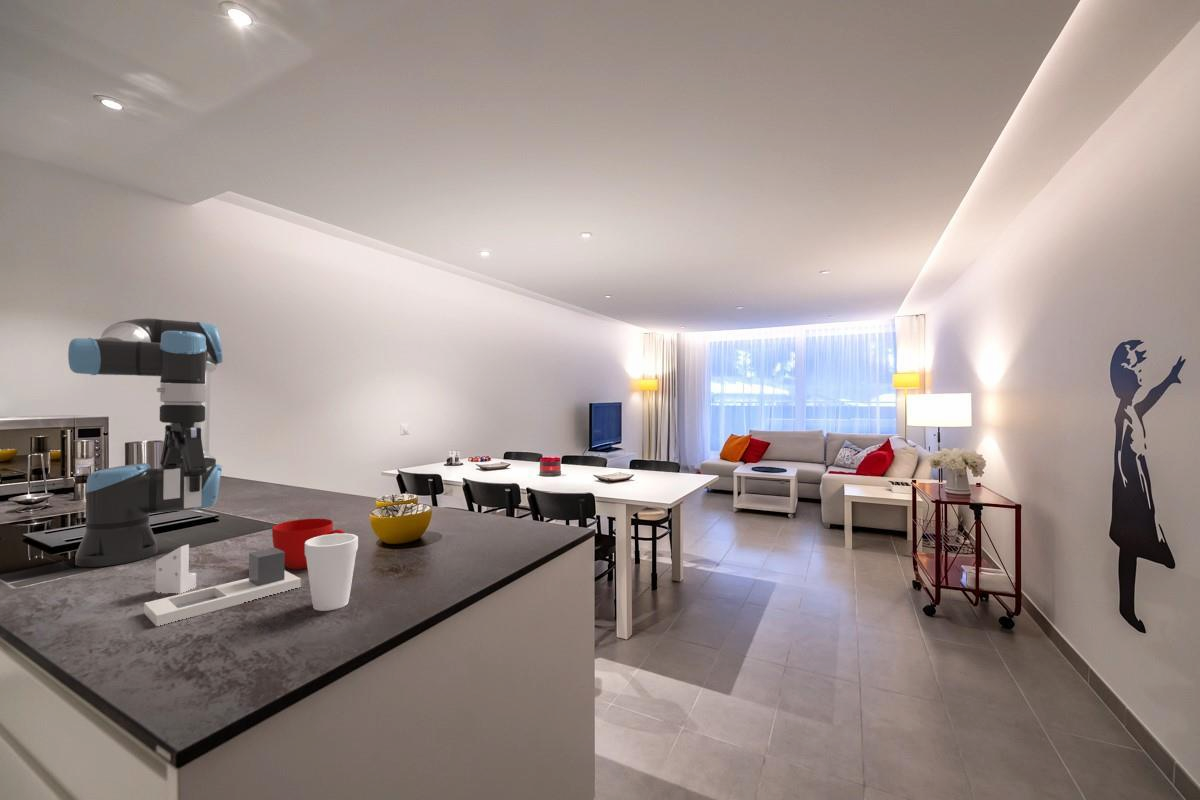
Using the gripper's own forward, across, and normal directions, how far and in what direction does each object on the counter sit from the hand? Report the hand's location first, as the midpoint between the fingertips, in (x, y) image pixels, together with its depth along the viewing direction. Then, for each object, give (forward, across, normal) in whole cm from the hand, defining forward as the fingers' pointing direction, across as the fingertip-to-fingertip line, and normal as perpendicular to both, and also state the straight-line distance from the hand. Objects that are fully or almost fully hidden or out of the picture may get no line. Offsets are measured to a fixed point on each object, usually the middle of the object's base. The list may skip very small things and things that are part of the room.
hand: (181, 502), depth 107 cm
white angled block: (+19, 0, -1) cm, 19 cm away
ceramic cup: (+19, +6, +24) cm, 31 cm away
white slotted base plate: (+18, +14, +4) cm, 24 cm away
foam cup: (+18, +33, +15) cm, 41 cm away
